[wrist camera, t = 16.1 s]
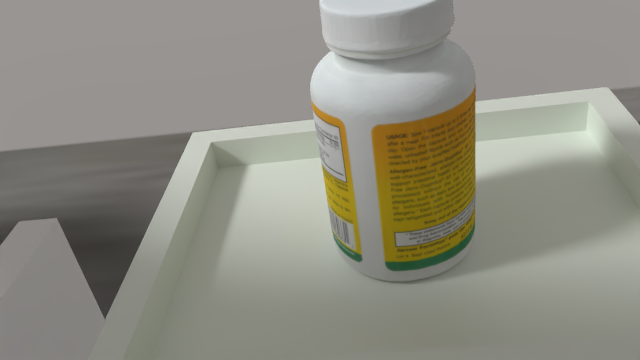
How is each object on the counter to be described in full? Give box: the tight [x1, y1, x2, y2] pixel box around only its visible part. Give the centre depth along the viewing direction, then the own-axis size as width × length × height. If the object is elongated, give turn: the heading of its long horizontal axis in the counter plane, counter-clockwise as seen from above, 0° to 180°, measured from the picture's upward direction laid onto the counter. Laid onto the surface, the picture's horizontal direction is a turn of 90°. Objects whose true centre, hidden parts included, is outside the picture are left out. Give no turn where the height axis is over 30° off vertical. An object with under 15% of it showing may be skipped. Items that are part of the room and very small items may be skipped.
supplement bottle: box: [310, 0, 476, 282], centre depth 21 cm, size 5×5×10 cm
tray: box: [88, 87, 640, 360], centre depth 23 cm, size 20×16×2 cm
